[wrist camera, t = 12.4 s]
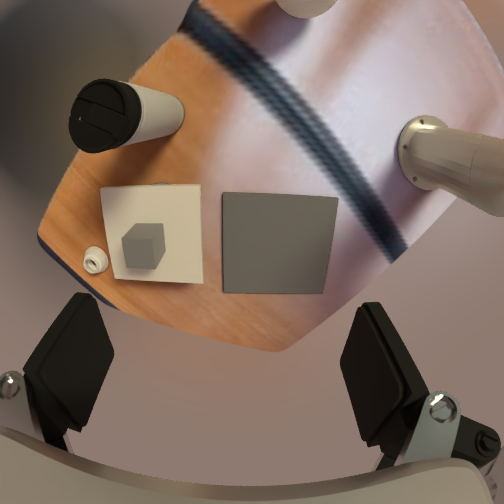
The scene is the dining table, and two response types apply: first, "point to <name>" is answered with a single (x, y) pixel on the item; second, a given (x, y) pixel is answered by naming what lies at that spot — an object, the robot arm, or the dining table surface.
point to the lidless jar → (95, 260)
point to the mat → (276, 242)
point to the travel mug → (121, 115)
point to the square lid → (154, 232)
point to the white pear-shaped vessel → (305, 7)
